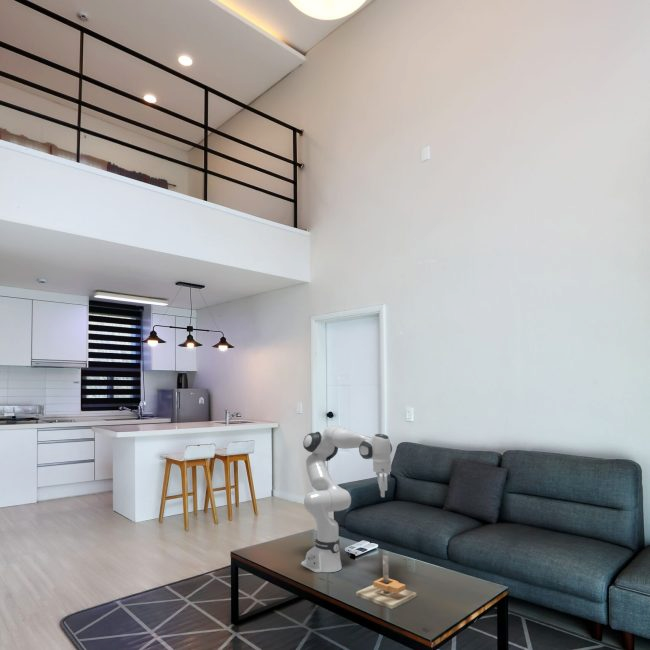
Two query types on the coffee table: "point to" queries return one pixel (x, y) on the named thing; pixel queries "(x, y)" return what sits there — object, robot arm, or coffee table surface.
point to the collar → (390, 585)
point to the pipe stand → (385, 592)
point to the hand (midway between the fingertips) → (382, 496)
